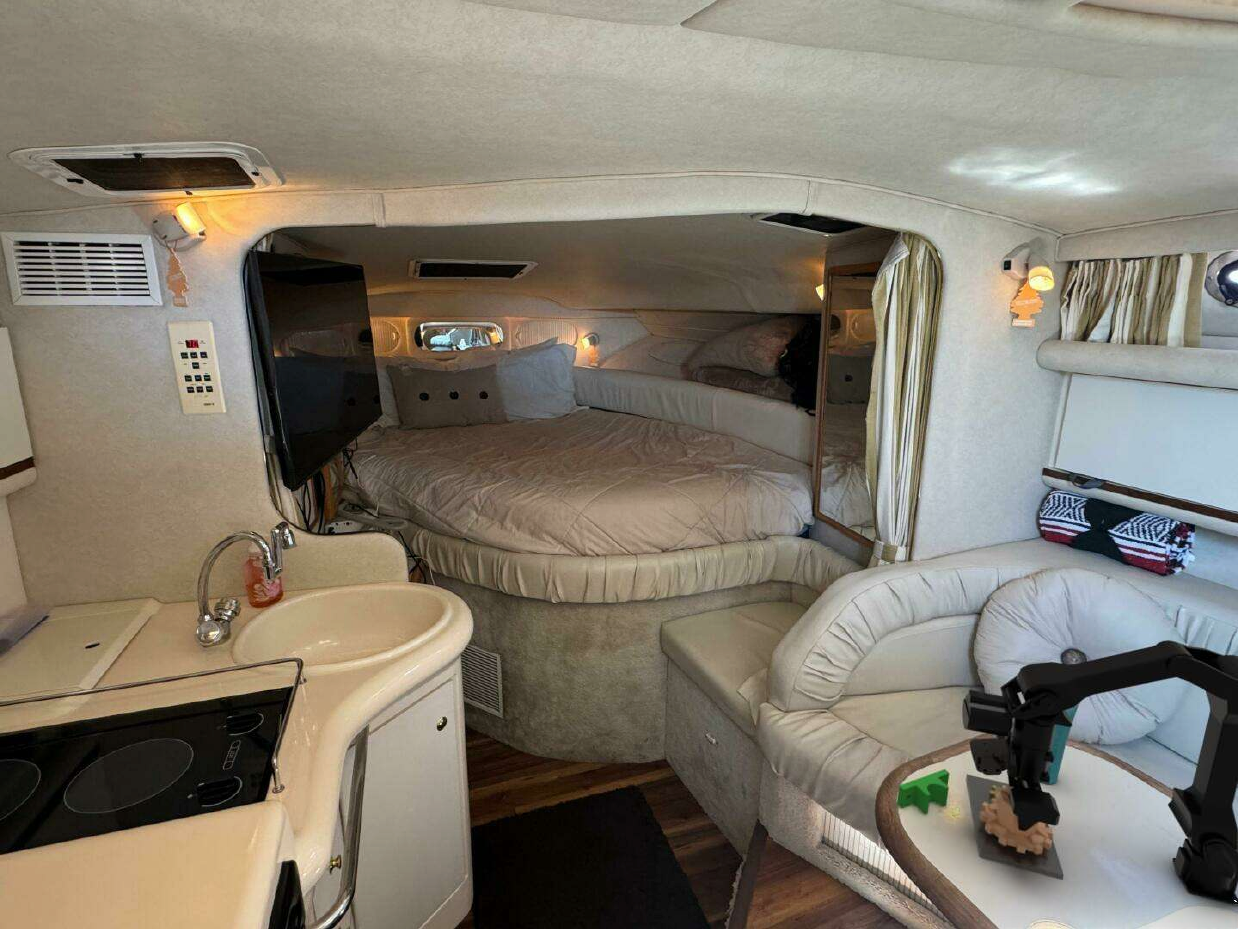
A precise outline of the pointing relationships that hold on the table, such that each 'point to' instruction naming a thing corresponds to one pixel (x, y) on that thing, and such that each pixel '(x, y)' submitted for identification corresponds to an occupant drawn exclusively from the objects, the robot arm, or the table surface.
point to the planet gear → (1013, 826)
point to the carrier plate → (989, 844)
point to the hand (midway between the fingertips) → (1017, 814)
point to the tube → (1059, 746)
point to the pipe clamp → (925, 791)
